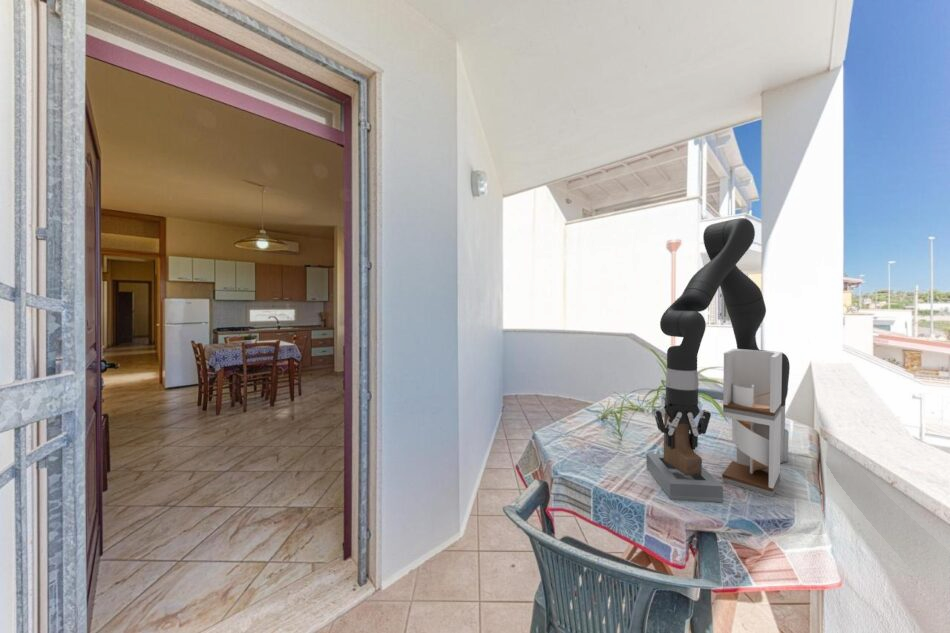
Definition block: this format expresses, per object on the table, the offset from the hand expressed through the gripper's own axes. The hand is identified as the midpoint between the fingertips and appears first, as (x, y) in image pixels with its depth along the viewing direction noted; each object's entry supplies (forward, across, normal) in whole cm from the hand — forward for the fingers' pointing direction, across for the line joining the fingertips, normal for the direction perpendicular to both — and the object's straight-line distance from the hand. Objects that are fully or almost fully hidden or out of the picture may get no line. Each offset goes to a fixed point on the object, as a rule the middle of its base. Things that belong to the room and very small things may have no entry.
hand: (681, 447), depth 96 cm
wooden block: (+6, 0, 0) cm, 6 cm away
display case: (+10, -19, -3) cm, 22 cm away
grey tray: (+10, 0, 0) cm, 10 cm away
